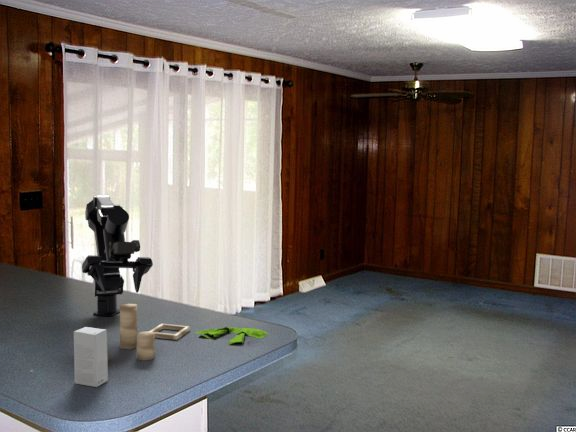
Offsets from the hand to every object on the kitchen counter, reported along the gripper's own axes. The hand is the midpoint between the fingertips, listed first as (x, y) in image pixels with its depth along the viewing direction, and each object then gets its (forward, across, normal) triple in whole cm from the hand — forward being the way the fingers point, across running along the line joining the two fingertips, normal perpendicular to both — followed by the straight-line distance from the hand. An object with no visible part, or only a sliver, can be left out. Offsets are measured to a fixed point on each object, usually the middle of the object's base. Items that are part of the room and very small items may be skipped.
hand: (121, 292), depth 161 cm
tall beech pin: (+16, 0, 0) cm, 16 cm away
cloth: (+18, +27, -6) cm, 32 cm away
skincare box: (+29, -15, -13) cm, 35 cm away
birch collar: (+11, +14, +3) cm, 18 cm away
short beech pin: (+22, +1, -7) cm, 23 cm away
